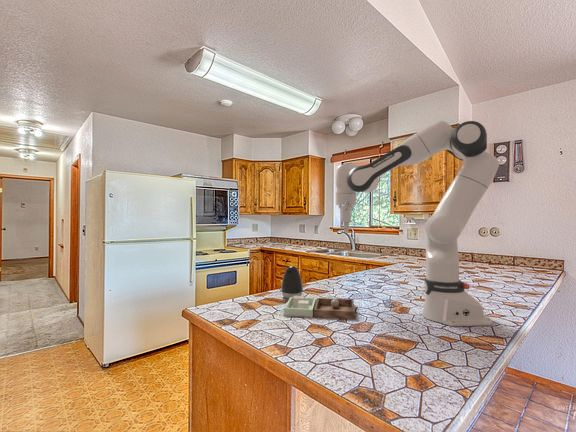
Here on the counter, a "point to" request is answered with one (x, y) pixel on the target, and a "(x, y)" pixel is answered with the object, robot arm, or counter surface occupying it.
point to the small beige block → (303, 304)
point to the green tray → (299, 311)
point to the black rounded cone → (291, 283)
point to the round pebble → (334, 303)
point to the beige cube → (297, 300)
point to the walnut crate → (327, 311)
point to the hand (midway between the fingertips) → (346, 232)
